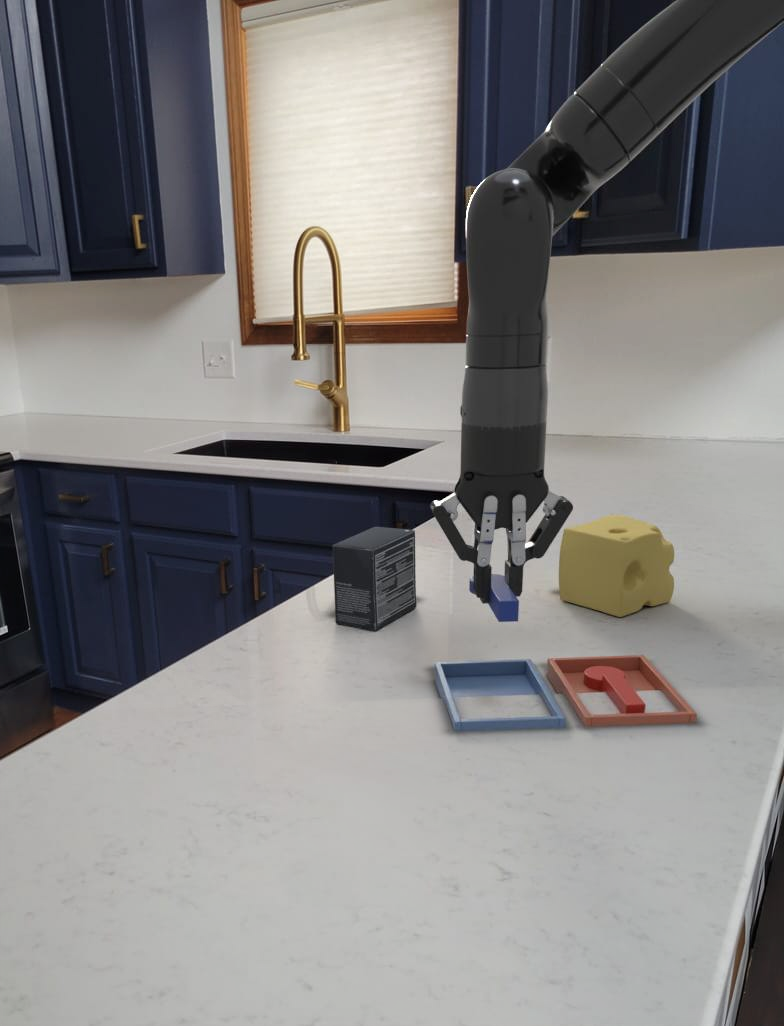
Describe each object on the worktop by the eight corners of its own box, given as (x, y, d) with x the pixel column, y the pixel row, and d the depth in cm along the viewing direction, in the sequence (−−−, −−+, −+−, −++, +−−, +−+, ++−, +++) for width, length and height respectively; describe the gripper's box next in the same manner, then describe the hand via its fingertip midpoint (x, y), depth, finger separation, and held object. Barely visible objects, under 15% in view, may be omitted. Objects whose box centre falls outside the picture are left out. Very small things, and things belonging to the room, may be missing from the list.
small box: (375, 600, 129) (374, 524, 125) (418, 607, 125) (418, 529, 121) (332, 623, 121) (329, 542, 117) (376, 632, 117) (375, 549, 113)
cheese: (673, 602, 123) (680, 526, 120) (618, 620, 117) (624, 541, 114) (607, 584, 131) (612, 512, 128) (553, 600, 126) (557, 526, 122)
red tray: (642, 672, 102) (643, 654, 102) (694, 733, 88) (697, 713, 88) (546, 675, 102) (547, 658, 102) (584, 737, 89) (585, 717, 88)
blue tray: (529, 676, 102) (530, 658, 102) (564, 737, 89) (565, 718, 88) (434, 679, 103) (434, 662, 102) (454, 741, 89) (454, 722, 88)
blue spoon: (530, 621, 87) (531, 600, 86) (486, 622, 87) (487, 601, 86) (505, 584, 98) (506, 565, 97) (466, 585, 98) (466, 566, 97)
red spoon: (655, 723, 90) (657, 703, 89) (612, 724, 90) (614, 705, 89) (617, 675, 100) (618, 657, 100) (579, 676, 101) (580, 659, 100)
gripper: (432, 426, 83) (430, 616, 89) (592, 420, 82) (579, 610, 88) (422, 415, 90) (421, 591, 96) (569, 409, 89) (559, 586, 95)
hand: (497, 600), depth 92 cm, fingers closed on blue spoon, 2 cm apart
